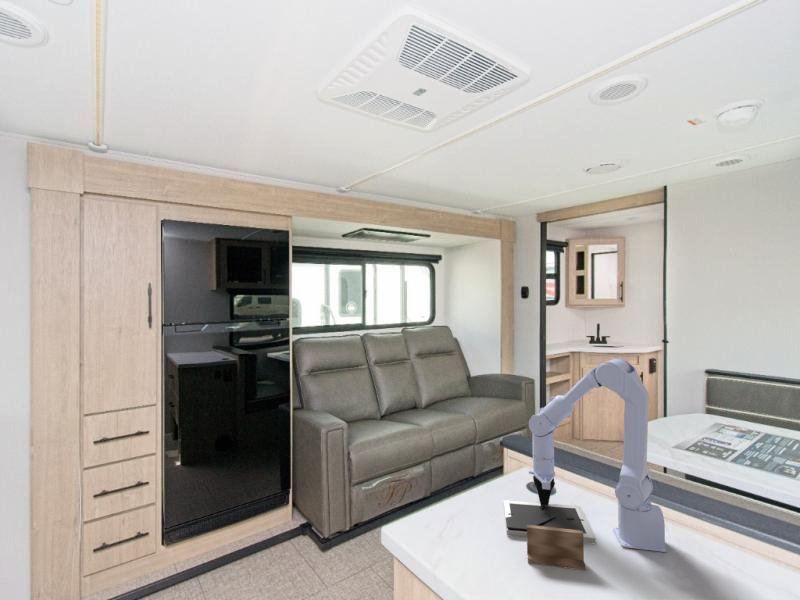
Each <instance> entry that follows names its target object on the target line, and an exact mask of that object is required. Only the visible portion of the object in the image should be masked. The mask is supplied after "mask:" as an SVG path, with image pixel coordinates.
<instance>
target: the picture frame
mask: <svg viewBox="0 0 800 600" xmlns="http://www.w3.org/2000/svg"><path fill="white" fill-rule="evenodd" d="M503 509H504V510H503V511H505V512H504V519H505V528H506V529H505V530H507V531H506V536H507V535H511V536H510V537H517V536H518V537H519V538H527V525H535V526H544V527H553V528H562V529H571V530H580V531H583V540H584V542H585V543H584V544H591V543H595V544H596V537H595V535H594V532H593V530H592V528H591V526H590V524H589V522H588V520H587V518H586V515H585V514H584V512H583V510H582V507H581V506H580V505H572V504H558V503H549V504H548V505H541V504H540V502H533V501H531V502H530V501H520V500H519V501H517V500H508V499H507V500H505V499H503Z"/></svg>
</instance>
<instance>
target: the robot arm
mask: <svg viewBox="0 0 800 600" xmlns="http://www.w3.org/2000/svg"><path fill="white" fill-rule="evenodd" d="M601 387H604V388H606V389H609V390H610V391H612V392H614V393H616V394H617V395H618V396H619V397H620V398H621V399H622V400H623V401H624V414H623V415H624V418H623V420H624V421H623V448H622V449H623V450H622V452H623V454H622V466H621V469H620V473H619V481H618V483H617V484H616V485H615V488H614V494H615V497H616V499H617V521H618V522H617V523H618V525H617V527H613V532H614V534H615V536H616V538H617V539H618V542H619V543H620V546H621V547H622V548H627V549H628V548H629V549H637V550H644V551H654V552H661V553H665V552H667V549H666V535H665V531H666V529H665V528H666V527H665V524H666V523H665V519H664V513H663V510H662V508H661V506H659V505H657V504H652V502H651V500H650V498H649V496H650V495H651V494H652V493H653V490H654V485H653V482H652V479H651V477H650V469H649V467H648V465H647V464H648V463H647V461H648V459H647V457H648V431H649V430H648V428H649V427H648V426H649V392H648V390H647V388H646V386H645V385H644V383H643V381H642V380H641V378H640V375H639V374H638V371H637V368H636V367H635V366H634V365H633V364H631V363H630V362H629V361H628V360H626V359H624V358H622V357H615V358H612V359H610V360H608V361H603V362H600V363H599V364H598V365H597V366H596V367H594V368H593V369H591V370H589V371H588V372H587V373H585V375H583V376H582V377H581V378H580V380H579V381H577V382H576V384H574V386H572V387H571V388H570V390H568V391H567V392H566V393H565V394H564V395H562V394H560V395H559V394H557V395H556V396H555V395H554V396H553V395H552V396H551V397H550V398H549V403H547V404H546V405H545V406H544V407H540V408H539V409H538V411H539V413H537V414H533V415H531V417H530V419H529V420H528V427H529V430H530V432H531V433H532V436H531V437H532V440H531V441H532V442H531V443H532V468H528V474H529V475H532V479H533V482H534V485H535V487H536V489H537V493H538V495H537V496H538V500H539V501H538V502H539V503H540V504H541V505H548V504H550V498H551V495H552V491H553V489H554V487H555V484H556V483H555V476H556V472H555V446H554V444H555V440H554V433H555V432H554V431H555V430H556V429H557V428H558V426H559V425H560V424H561V423H562V422H564V420H565V419H567V418H568V417H569V416H570V415H571V414H573V413H574V410H575V409H574V408H575V404H576V403H577V402H578V401H580V400H581V399H582V398H583V397H585V396H586V395H588V393H589V392H591V391H592V390H593V389H595V388H601Z"/></svg>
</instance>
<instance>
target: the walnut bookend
mask: <svg viewBox="0 0 800 600" xmlns="http://www.w3.org/2000/svg"><path fill="white" fill-rule="evenodd" d="M584 544H585V543H584V540H583V531H580V530H571V529H562V528H553V527H544V526H535V525H527V537H526V549H527V552H526V555H527V556H528V557H527V556H526V557H527V562H528V564H534V565H541V566H550V567H556V568H557V567H558V568H564V567H566V568H565V569H572V568H573V569H574V570H580V571H587V570H586V568H587V567H586V563H585V558H584V557H585V555H584V553H585V550H584V548H585V546H584Z"/></svg>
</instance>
